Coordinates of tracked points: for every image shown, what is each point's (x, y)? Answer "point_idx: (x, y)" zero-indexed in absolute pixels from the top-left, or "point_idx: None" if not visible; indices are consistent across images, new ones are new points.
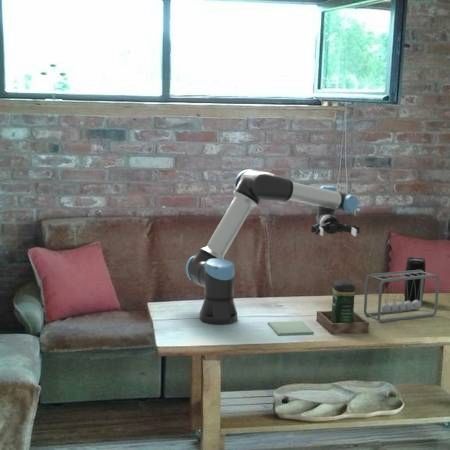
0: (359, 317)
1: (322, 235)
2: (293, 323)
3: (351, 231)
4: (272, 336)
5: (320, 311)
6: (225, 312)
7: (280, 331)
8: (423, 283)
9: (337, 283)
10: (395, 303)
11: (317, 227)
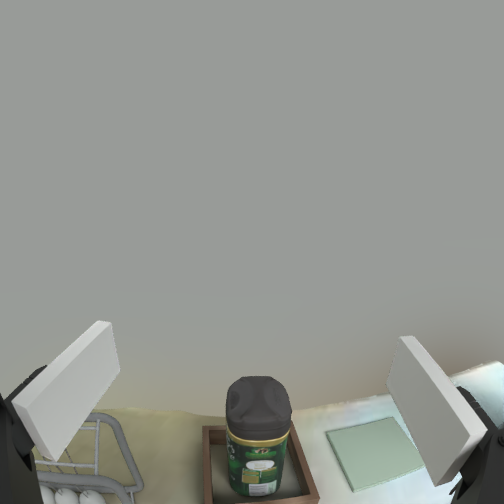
0: (209, 456)
1: (392, 380)
2: (373, 469)
3: (47, 444)
4: (398, 414)
5: (309, 497)
6: (501, 424)
7: (390, 425)
8: None
9: (281, 394)
10: (60, 490)
11: (497, 433)
